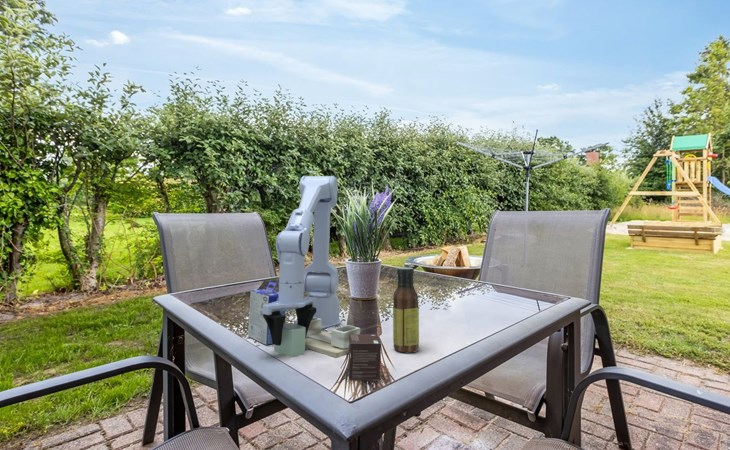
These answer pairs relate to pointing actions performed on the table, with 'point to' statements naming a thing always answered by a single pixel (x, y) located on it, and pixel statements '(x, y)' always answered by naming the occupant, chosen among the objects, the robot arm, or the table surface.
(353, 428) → the table surface
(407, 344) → the sauce bottle
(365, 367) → the box
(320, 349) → the board
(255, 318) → the ink cartridge box
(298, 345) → the block
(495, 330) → the table surface
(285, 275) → the robot arm
